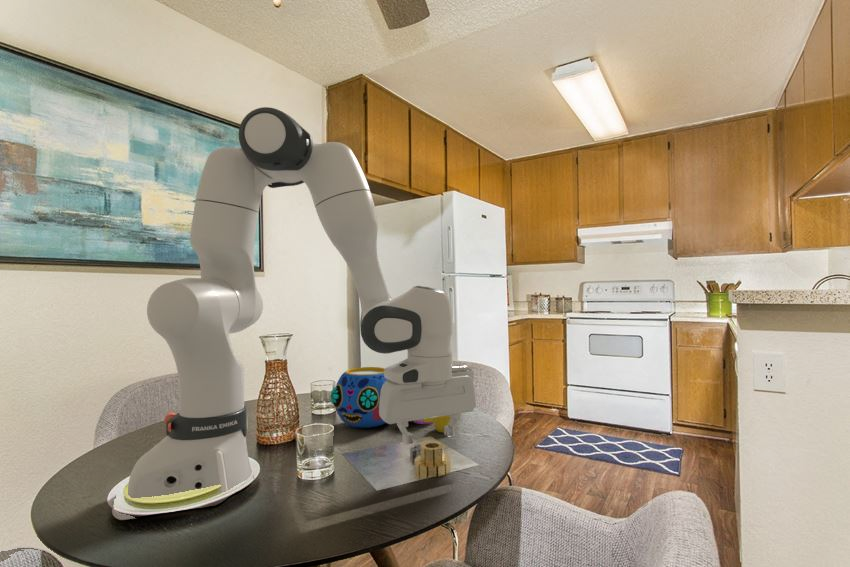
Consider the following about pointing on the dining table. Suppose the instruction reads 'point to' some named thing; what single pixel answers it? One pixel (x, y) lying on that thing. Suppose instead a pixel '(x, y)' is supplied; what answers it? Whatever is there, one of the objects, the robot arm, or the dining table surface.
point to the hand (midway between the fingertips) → (429, 439)
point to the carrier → (398, 463)
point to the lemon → (441, 422)
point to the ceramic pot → (359, 396)
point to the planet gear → (432, 460)
